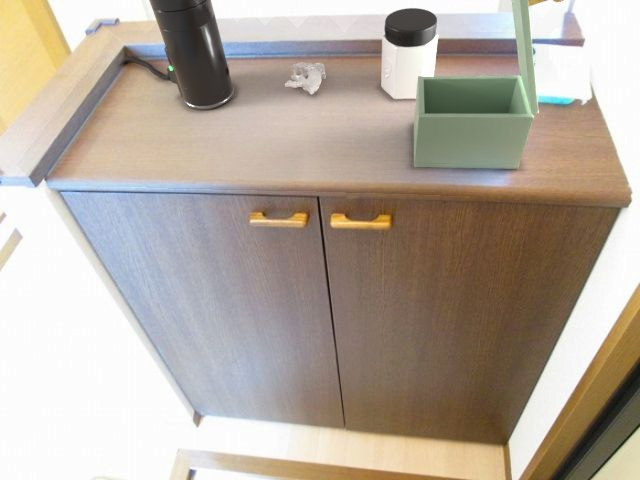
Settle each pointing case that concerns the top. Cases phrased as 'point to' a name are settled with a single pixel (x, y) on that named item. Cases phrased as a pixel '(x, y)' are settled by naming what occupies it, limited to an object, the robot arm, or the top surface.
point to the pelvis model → (314, 76)
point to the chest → (471, 121)
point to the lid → (526, 48)
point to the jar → (408, 51)
